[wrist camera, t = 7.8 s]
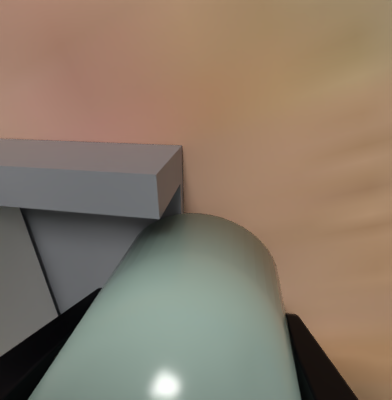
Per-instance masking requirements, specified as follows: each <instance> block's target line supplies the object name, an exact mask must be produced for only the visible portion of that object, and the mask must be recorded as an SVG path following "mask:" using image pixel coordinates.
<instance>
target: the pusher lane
mask: <svg viewBox="0 0 392 400" xmlns="http://www.w3.org/2000/svg"><path fill="white" fill-rule="evenodd" d="M0 206H7V207H19V208H20V211H21V214H22V217H23V219H24V222H25V225H26V228H27V230H28V233H29V236H30V239H31V242H32V244H33V247H34V250H35V253H36V256H37V258H38V261H39V264H40V267H41V270H42V272H43V275H44V278H45V281H46V284H47V286H48V289H49V292H50V295H51V298H52V300H53V303H54V306H55V309H56V311H57V314H58V316H59V315H60V314H62V313H63V312H65V311H66V310H68V309H69V308H70V307H72V306H73V305H75V304H76V303H78V302H79V301H80V300H82V299H83V298H85V297H86V296H88V295H89V294H90V293H92V292H93V291H95V290H96V289H98V288H102V287H103V286H104V284H105V283H106V281H107V280H108V278H109V277H110V275H111V274H112V272H113V271H114V269H115V268H116V266H117V265H118V263H119V262H120V260H121V259H122V257H123V256H124V254H125V253H126V251H127V250H128V248H129V247H130V245H131V244H132V242H133V241H134V239H135V238H136V237H137V235H138V234H139V233H140V232H141V231H142V230H143V229H144V228H146V227H147V226H149V225H150V224H152V223H154V222H155V221H157V220H159V219H162V218H165V217H168V216H172V215H177V214H184V204H183V168H182V146H180V145H154V144H128V143H102V142H75V141H49V140H23V139H0Z"/></svg>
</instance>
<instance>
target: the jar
mask: <svg viewBox="0 0 392 400" xmlns="http://www.w3.org/2000/svg"><path fill="white" fill-rule="evenodd" d="M28 400H301V395H300V389H299V384H298V379H297V373H296V368H295V363H294V357H293V352H292V346H291V341H290V336H289V330H288V325H287V320H286V314H285V309H284V304H283V298H282V293H281V287H280V282H279V277H278V272H277V268H276V264H275V262H274V260H273V257H272V256H271V254H270V252H269V251H268V249H267V248H266V247H265V246H264V244H263V243H262V242H261V241H260V240H259V239H258V238H257V237H256V236H254V235H253V234H252V233H251V232H249V231H248V230H246V229H245V228H243V227H241V226H240V225H238V224H236V223H234V222H231V221H229V220H226V219H224V218H220V217H217V216H213V215H207V214H198V213H186V214H177V215H172V216H168V217H165V218H162V219H159V220H157V221H155V222H154V223H152V224H150V225H149V226H147V227H146V228H144V229H143V230H142V231H141V232H140V233H139V234H138V235H137V237H136V238H135V239H134V241H133V242H132V244H131V245H130V247H129V248H128V250H127V251H126V253H125V254H124V256H123V257H122V259H121V260H120V262H119V263H118V265H117V266H116V268H115V269H114V271H113V272H112V274H111V275H110V277H109V278H108V280H107V281H106V283H105V284H104V286H103V287H102V289H101V290H100V292H99V293H98V295H97V296H96V298H95V299H94V301H93V302H92V304H91V305H90V307H89V308H88V310H87V311H86V313H85V314H84V316H83V317H82V319H81V320H80V322H79V323H78V325H77V326H76V328H75V329H74V331H73V333H72V334H71V336H70V337H69V339H68V340H67V342H66V343H65V345H64V346H63V348H62V349H61V351H60V352H59V354H58V355H57V357H56V358H55V360H54V361H53V363H52V364H51V366H50V367H49V369H48V370H47V372H46V373H45V375H44V376H43V378H42V379H41V381H40V382H39V384H38V385H37V387H36V388H35V390H34V391H33V393H32V394H31V396H30V397H29V399H28Z"/></svg>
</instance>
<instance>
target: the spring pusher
mask: <svg viewBox="0 0 392 400" xmlns="http://www.w3.org/2000/svg"><path fill="white" fill-rule="evenodd" d="M56 317H58V314H57V311H56V309H55V306H54V303H53V300H52V298H51V295H50V292H49V289H48V286H47V284H46V281H45V278H44V275H43V272H42V270H41V267H40V264H39V261H38V258H37V256H36V253H35V250H34V247H33V244H32V242H31V239H30V236H29V233H28V230H27V228H26V225H25V222H24V219H23V217H22V214H21V211H20V208H19V207H7V206H0V356H2V355H3V354H5V353H6V352H8V351H9V350H10V349H12V348H13V347H15V346H16V345H18V344H19V343H20V342H22V341H23V340H25V339H26V338H28V337H29V336H30V335H32V334H33V333H35V332H36V331H38V330H39V329H40V328H42V327H43V326H45V325H46V324H48V323H49V322H50V321H52V320H53V319H55V318H56Z"/></svg>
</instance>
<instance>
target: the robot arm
mask: <svg viewBox="0 0 392 400" xmlns="http://www.w3.org/2000/svg"><path fill="white" fill-rule="evenodd" d="M101 289H102V288H98V289H96V290H95V291H93V292H92V293H90V294H89V295H88V296H86V297H85V298H83V299H82V300H80V301H79V302H78V303H76V304H75V305H73V306H72V307H70V308H69V309H68V310H66V311H65V312H63V313H62V314H60V315H59V316H58V317H56V318H55V319H53V320H52V321H50V322H49V323H48V324H46V325H45V326H43V327H42V328H40V329H39V330H38V331H36V332H35V333H33V334H32V335H30V336H29V337H28V338H26V339H25V340H23V341H22V342H20V343H19V344H18V345H16V346H15V347H13V348H12V349H10V350H9V351H8V352H6V353H5V354H3V355H2V356H0V400H28V399H29V397H30V396H31V394H32V393H33V391H34V390H35V388H36V387H37V385H38V384H39V382H40V381H41V379H42V378H43V376H44V375H45V373H46V372H47V370H48V369H49V367H50V366H51V364H52V363H53V361H54V360H55V358H56V357H57V355H58V354H59V352H60V351H61V349H62V348H63V346H64V345H65V343H66V342H67V340H68V339H69V337H70V336H71V334H72V333H73V331H74V329H75V328H76V326H77V325H78V323H79V322H80V320H81V319H82V317H83V316H84V314H85V313H86V311H87V310H88V308H89V307H90V305H91V304H92V302H93V301H94V299H95V298H96V296H97V295H98V293H99V292H100V290H101ZM285 314H286V320H287V325H288V330H289V336H290V341H291V346H292V352H293V357H294V363H295V368H296V373H297V379H298V384H299V389H300V395H301V400H358V398H357V397H356V396H355V394H354V393H353V391H352V390H351V389H350V387H349V386H348V384H347V383H346V382H345V380H344V379H343V377H342V376H341V375H340V373H339V372H338V370H337V369H336V368H335V366H334V365H333V364H332V362H331V361H330V359H329V358H328V357H327V355H326V354H325V352H324V351H323V350H322V348H321V347H320V345H319V344H318V343H317V341H316V340H315V338H314V337H313V336H312V334H311V333H310V331H309V330H308V329H307V327H306V326H305V324H304V323H303V322H302V320H301V319H300V318H299V316H298V315H296V314H289V313H285Z"/></svg>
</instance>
